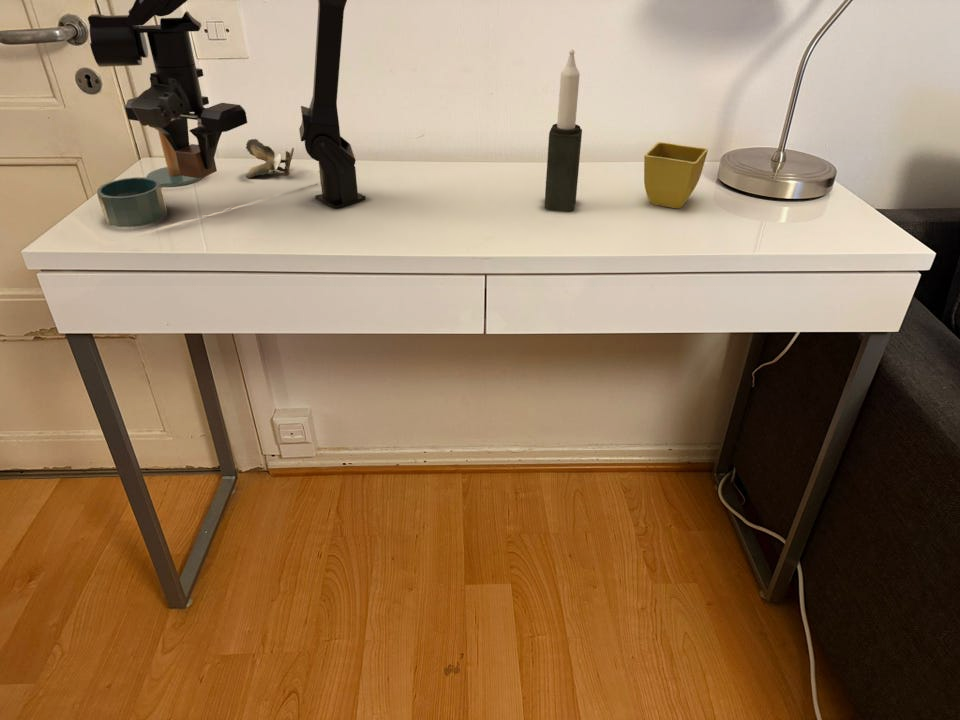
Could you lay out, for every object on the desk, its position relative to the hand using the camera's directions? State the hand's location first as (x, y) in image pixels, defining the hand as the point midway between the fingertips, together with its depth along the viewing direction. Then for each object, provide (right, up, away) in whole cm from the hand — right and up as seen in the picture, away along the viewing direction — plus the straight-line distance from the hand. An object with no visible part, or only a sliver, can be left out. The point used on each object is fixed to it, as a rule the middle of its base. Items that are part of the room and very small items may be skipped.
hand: (197, 166), depth 112 cm
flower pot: (+79, -4, +9) cm, 79 cm away
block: (0, -1, +1) cm, 1 cm away
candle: (+60, -5, +8) cm, 60 cm away
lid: (-10, +2, +16) cm, 19 cm away
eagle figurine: (+6, +3, +18) cm, 20 cm away
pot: (-10, -8, +1) cm, 13 cm away
